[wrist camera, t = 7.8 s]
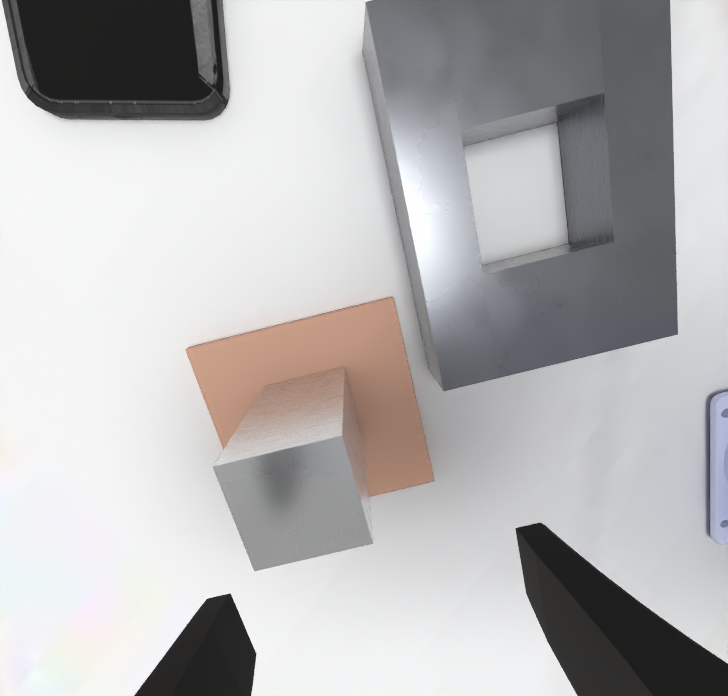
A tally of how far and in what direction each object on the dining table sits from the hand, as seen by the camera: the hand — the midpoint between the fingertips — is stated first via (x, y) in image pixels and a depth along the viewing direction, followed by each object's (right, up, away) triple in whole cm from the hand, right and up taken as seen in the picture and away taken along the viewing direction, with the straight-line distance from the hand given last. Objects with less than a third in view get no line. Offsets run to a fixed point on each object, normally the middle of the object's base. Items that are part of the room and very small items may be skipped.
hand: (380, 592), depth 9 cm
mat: (-3, +3, +10) cm, 10 cm away
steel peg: (-3, +3, +9) cm, 10 cm away
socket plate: (+6, +13, +8) cm, 16 cm away
